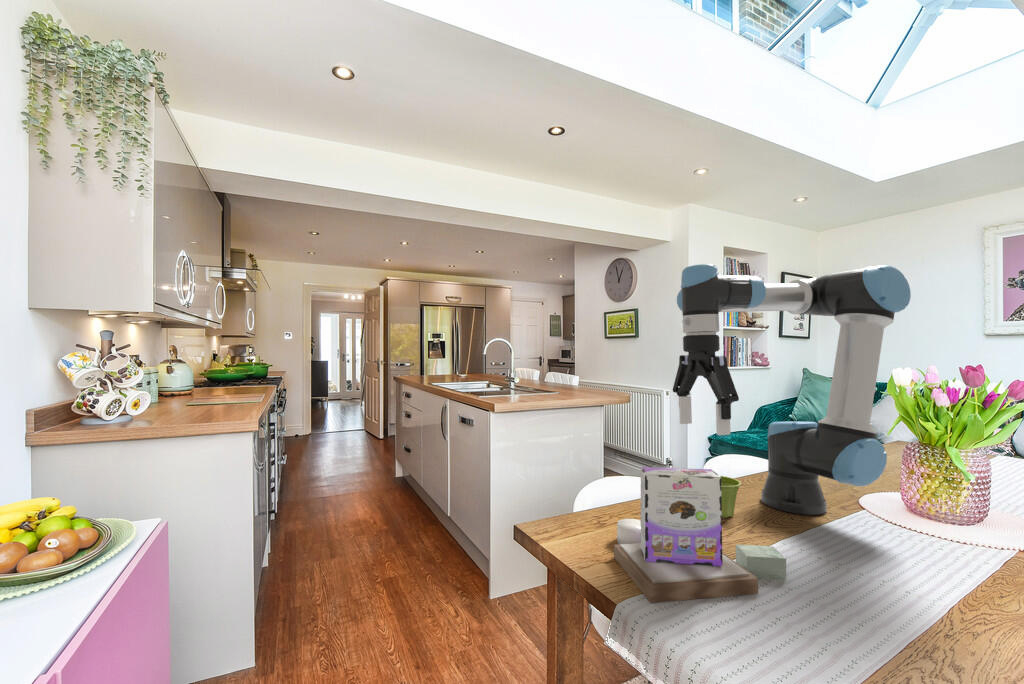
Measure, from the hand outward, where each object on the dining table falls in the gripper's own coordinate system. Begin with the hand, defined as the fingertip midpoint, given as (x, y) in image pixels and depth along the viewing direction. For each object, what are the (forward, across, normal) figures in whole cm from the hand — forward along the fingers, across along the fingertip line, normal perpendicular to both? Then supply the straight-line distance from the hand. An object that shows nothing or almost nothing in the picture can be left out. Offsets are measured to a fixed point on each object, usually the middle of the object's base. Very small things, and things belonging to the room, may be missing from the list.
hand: (703, 428), depth 97 cm
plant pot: (+26, -14, +14) cm, 32 cm away
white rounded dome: (+24, -2, -17) cm, 30 cm away
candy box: (+22, +12, -14) cm, 29 cm away
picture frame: (+24, +12, -14) cm, 31 cm away
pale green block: (+25, +14, +2) cm, 29 cm away
